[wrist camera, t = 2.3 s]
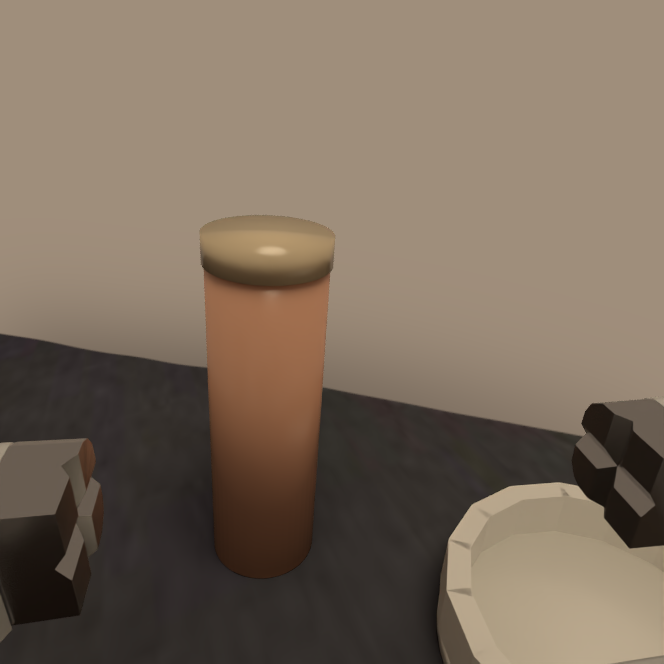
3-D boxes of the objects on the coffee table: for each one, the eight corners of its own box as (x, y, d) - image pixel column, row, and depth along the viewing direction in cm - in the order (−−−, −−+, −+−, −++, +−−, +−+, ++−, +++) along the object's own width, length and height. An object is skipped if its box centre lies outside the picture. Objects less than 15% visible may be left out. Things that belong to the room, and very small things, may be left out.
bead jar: (211, 585, 26) (196, 252, 18) (213, 505, 30) (202, 214, 23) (320, 574, 27) (347, 254, 19) (306, 498, 31) (323, 216, 24)
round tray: (528, 903, 16) (555, 852, 15) (399, 540, 29) (406, 493, 27) (899, 819, 19) (951, 769, 18) (633, 519, 31) (651, 475, 30)
